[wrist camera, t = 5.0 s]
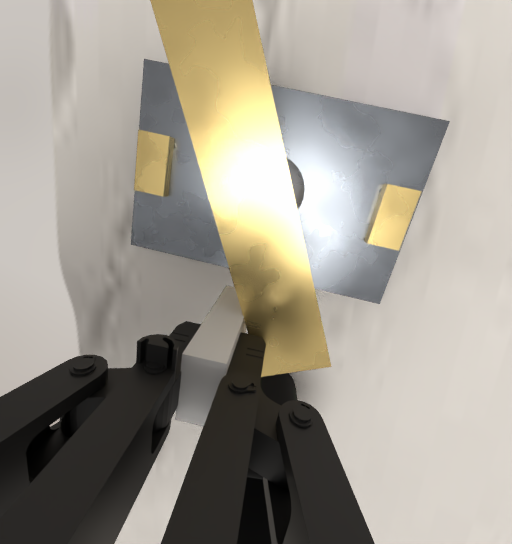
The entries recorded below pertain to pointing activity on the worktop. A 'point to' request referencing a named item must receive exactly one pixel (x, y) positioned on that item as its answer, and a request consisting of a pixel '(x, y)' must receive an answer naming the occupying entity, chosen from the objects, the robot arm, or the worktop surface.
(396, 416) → the worktop surface
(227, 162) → the flat gold bar
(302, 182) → the plate
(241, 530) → the cup
